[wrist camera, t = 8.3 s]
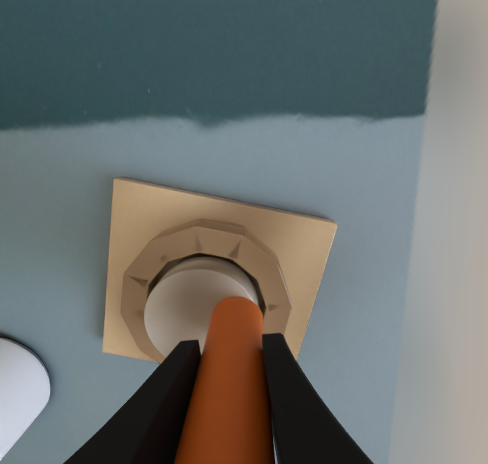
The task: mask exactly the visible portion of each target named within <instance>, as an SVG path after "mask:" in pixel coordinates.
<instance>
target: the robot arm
mask: <svg viewBox="0 0 488 464" xmlns="http://www.w3.org/2000/svg"><path fill="white" fill-rule="evenodd" d="M262 349H263V358H264V367H265V376H266V382H267V388H268V394H269V400H270V407H271V419H272V431H273V438H274V444H275V450H276V456H277V462H278V464H374V463H373V462H372V461H371V460H370V459H369V458H368V457H367V455H366V454H365V453H364V452H363V451H362V450H361V449H360V447H359V446H358V445H357V444H356V443H355V441H354V440H353V439H352V438H351V437H350V435H349V434H348V433H347V432H346V431H345V429H344V428H343V427H342V426H341V424H340V423H339V422H338V420H337V419H336V418H335V417H334V415H333V414H332V413H331V411H330V410H329V409H328V407H327V406H326V405H325V403H324V402H323V401H322V399H321V398H320V396H319V395H318V394H317V392H316V391H315V389H314V388H313V386H312V385H311V383H310V382H309V380H308V379H307V377H306V376H305V374H304V373H303V371H302V370H301V368H300V366H299V365H298V363H297V361H296V359H295V358H294V356H293V354H292V352H291V350H290V348H289V346H288V344H287V342H286V340H285V337H284V335H283V334H281V333H271V334H262ZM200 359H201V351H200V346H199V340H186V341H180V342H179V343H178V344H177V346H176V347H175V348H174V349H173V350H172V351H171V352H170V354H169V355H168V356H167V357H166V358H165V359H164V361H163V362H162V363H161V364H160V365H159V366H158V368H157V369H156V370H155V371H154V372H153V373H152V375H151V376H150V377H149V378H148V379H147V380H146V381H145V382H144V383H143V385H142V386H141V387H140V388H139V389H138V390H137V391H136V392H135V394H134V395H133V396H132V397H131V398H130V399H129V400H128V401H127V402H126V403H125V404H124V405H123V406H122V407H121V408H120V409H119V410H118V411H117V412H116V413H115V414H114V415H113V417H112V418H111V419H110V420H109V421H108V422H107V423H106V424H105V425H104V426H103V427H102V428H101V429H100V430H99V431H98V432H97V433H96V434H95V435H94V436H93V437H91V438H90V439H89V440H88V441H87V442H86V443H85V444H84V445H83V446H82V447H81V448H80V449H79V450H78V451H77V452H75V453H74V454H73V455H72V456H71V457H70V458H69V459H68V460H67V461H66V462H64V463H63V464H174V461H175V457H176V453H177V449H178V445H179V442H180V438H181V434H182V430H183V426H184V422H185V418H186V414H187V410H188V406H189V402H190V399H191V395H192V391H193V387H194V383H195V379H196V375H197V371H198V367H199V363H200Z"/></svg>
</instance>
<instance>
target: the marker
mask: <svg viewBox="0 0 488 464" xmlns="http://www.w3.org/2000/svg"><path fill="white" fill-rule="evenodd" d="M262 334H264V322H263V315H262V312H261V310H260V308H259V307H258V306H257V305H256V304H255V303H254V302H253V301H251V300H249V299H247V298H243V297H230V298H227V299H225V300H223V301H221V302H220V303H219V304H218V305H217V306H216V307H215V308H214V310H213V313H212V316H211V320H210V324H209V328H208V332H207V336H206V340H205V344H204V348H203V352H202V355H201V359H200V363H199V367H198V371H197V375H196V379H195V383H194V387H193V391H192V395H191V399H190V402H189V406H188V410H187V414H186V418H185V422H184V426H183V430H182V434H181V438H180V442H179V445H178V449H177V453H176V457H175V461H174V464H275V456H274V444H273V431H272V419H271V407H270V400H269V394H268V388H267V382H266V376H265V367H264V358H263V349H262Z"/></svg>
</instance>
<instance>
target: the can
mask: <svg viewBox="0 0 488 464" xmlns="http://www.w3.org/2000/svg"><path fill="white" fill-rule="evenodd" d="M49 397H50V377H49V373H48V371H47V369H46V367H45V365H44V363H43V362H42V360H41V359H40V358H39V357H38V356H37V355H36V354H35V353H34V352H33V351H32V350H30V349H29V348H27V347H26V346H24V345H22V344H20V343H18V342H15V341H13V340H10V339H7V338H2V337H0V460H1V459H2V458H3V457H4V456H5V454H6V453H7V452H8V451H9V450H10V448H11V447H12V446H13V445H14V444H15V442H16V441H17V440H18V439H19V438H20V436H21V435H22V434H23V433H24V432H25V431H26V429H27V428H28V427H29V426H30V425H31V423H32V422H33V421H34V420H35V418H36V417H37V416H38V415H39V414H40V412H41V411H42V410H43V409H44V407H45V406H46V404H47V402H48V400H49Z"/></svg>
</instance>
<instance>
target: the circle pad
mask: <svg viewBox="0 0 488 464" xmlns="http://www.w3.org/2000/svg"><path fill="white" fill-rule="evenodd" d="M230 297H243V298H247V299H249V300H251V301H253V302H254V303H255V304H256V305H257V306H258V297H257V293H256V290H255V288H254V285H253V284H252V282H251V280H250V279H249V278H248V276H247V275H246V274H245V273H244V272H243V271H242V270H241V269H239V268H238V267H237V266H235V265H233V264H232V263H230V262H228V261H225V260H223V259H219V258H215V257H194V258H190V259H186V260H184V261H181V262H180V263H178V264H176V265H174V266H173V267H172V268H170V269H169V270H168V271H167V272H166V273H165V275H164V276H163V277H162V279H161V280H160V281H159V282H158V284H157V285H156V286H155V288H154V289H153V290H152V292H151V293H150V295H149V297H148V299H147V302H146V305H145V310H144V322H145V328H146V332H147V334H148V336H149V339H150V340H151V342H152V344H153V345H154V346H155V348H156V349H157V350H158V351H159V352H160V353H161V354H162V355H163V356H165V357H167V356H168V355H169V354H170V352H171V351H172V350H173V349H174V348H175V347H176V346H177V344H178V343H179V342H180V341H186V340H199V346H200V351H201V355H202V352H203V348H204V344H205V340H206V336H207V332H208V328H209V324H210V320H211V316H212V313H213V310H214V308H215V307H216V306H217V305H218V304H219V303H220V302H221V301H223V300H225V299H227V298H230Z"/></svg>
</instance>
